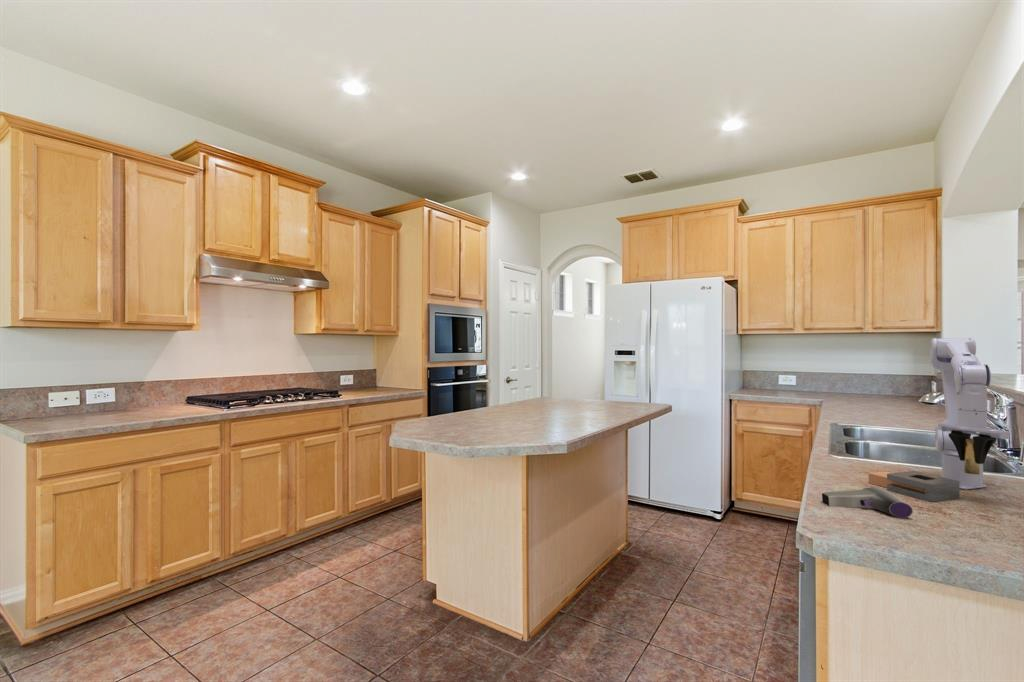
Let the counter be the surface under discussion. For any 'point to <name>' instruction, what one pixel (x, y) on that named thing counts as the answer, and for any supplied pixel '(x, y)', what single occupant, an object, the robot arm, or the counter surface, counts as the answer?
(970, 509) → the counter surface
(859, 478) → the counter surface
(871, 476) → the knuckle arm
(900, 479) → the bracket
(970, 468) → the brass pin
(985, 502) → the counter surface
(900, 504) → the infrared thermometer
